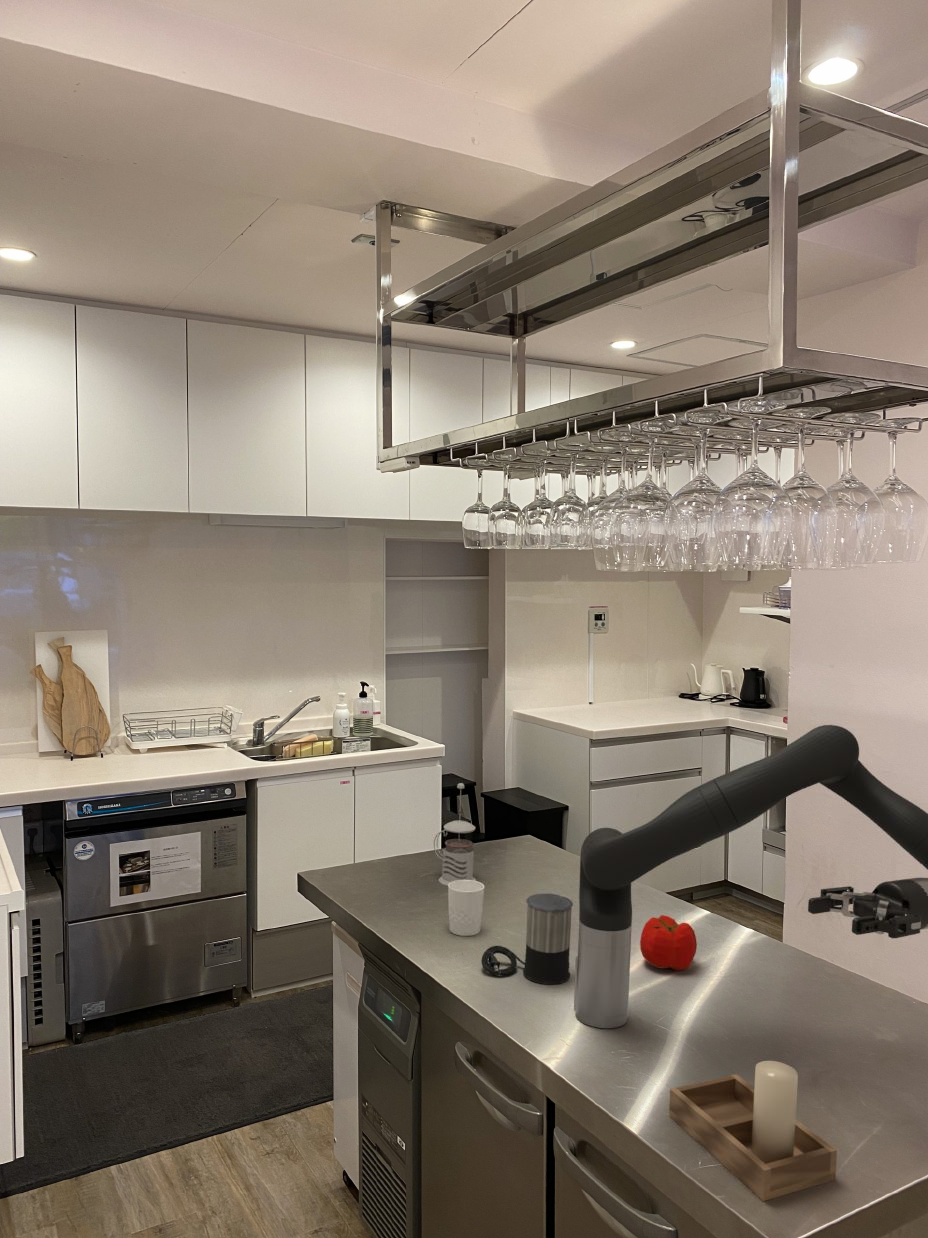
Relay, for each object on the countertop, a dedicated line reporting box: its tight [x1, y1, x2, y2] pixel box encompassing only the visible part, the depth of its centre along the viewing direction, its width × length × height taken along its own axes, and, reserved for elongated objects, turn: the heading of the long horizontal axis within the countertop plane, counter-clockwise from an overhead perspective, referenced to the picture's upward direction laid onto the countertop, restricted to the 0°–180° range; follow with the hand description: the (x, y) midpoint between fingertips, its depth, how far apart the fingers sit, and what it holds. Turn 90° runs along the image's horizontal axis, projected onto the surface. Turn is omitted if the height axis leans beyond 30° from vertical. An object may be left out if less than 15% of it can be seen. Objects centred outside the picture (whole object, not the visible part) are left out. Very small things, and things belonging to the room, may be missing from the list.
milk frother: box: [481, 892, 574, 985], centre depth 185 cm, size 14×16×15 cm
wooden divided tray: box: [668, 1073, 838, 1202], centre depth 131 cm, size 20×12×4 cm, turn 23°
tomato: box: [639, 914, 698, 971], centre depth 192 cm, size 11×12×9 cm
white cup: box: [447, 880, 485, 937], centre depth 206 cm, size 8×8×10 cm
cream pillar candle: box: [751, 1060, 799, 1164], centre depth 126 cm, size 5×5×12 cm
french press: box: [433, 782, 477, 887], centre depth 240 cm, size 10×12×25 cm
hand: (831, 916), depth 137 cm, fingers open, 8 cm apart
